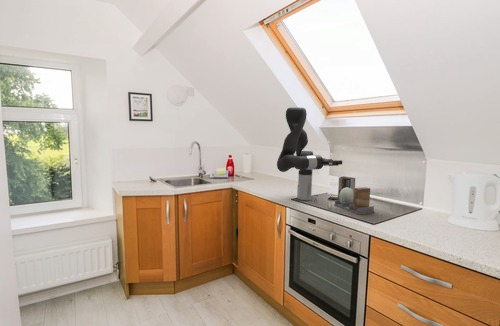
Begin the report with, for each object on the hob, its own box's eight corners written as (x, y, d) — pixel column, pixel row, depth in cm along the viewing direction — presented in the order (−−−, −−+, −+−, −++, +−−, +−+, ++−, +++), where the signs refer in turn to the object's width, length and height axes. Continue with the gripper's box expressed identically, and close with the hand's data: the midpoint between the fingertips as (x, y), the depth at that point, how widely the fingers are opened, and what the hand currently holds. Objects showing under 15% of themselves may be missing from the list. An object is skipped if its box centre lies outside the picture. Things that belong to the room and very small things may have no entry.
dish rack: (334, 205, 179) (334, 200, 179) (348, 203, 184) (349, 198, 183) (358, 214, 160) (358, 208, 160) (374, 212, 165) (374, 206, 164)
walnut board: (352, 209, 166) (353, 188, 164) (364, 208, 169) (365, 187, 168) (356, 211, 163) (358, 189, 161) (368, 210, 166) (370, 188, 165)
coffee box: (354, 201, 191) (355, 177, 189) (349, 202, 186) (350, 178, 185) (342, 198, 197) (343, 176, 196) (337, 200, 193) (338, 176, 191)
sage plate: (338, 205, 176) (339, 187, 175) (352, 203, 180) (353, 186, 179) (339, 205, 175) (340, 188, 174) (353, 204, 179) (354, 187, 178)
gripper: (320, 156, 144) (345, 155, 151) (305, 154, 157) (328, 153, 164) (320, 171, 145) (345, 169, 151) (304, 167, 158) (328, 166, 164)
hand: (336, 161), depth 157 cm, fingers open, 8 cm apart
